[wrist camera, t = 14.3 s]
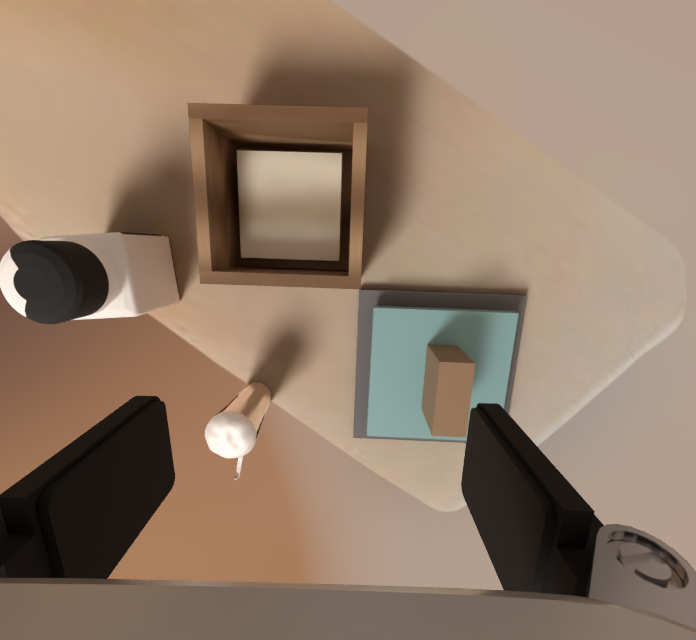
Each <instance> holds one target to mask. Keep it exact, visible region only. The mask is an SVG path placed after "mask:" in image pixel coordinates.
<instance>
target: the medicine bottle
mask: <svg viewBox="0 0 696 640" xmlns="http://www.w3.org/2000/svg"><path fill="white" fill-rule="evenodd" d="M0 287H1V290H2V292H3V294H4V296H5V298H6V299H7V301H8V302H9V303H10V305H11V306H12V307H13V308H14V309H15V310H16V311H18V312H19V313H21V314H22V315H24V316H25V317H27V318H29V319H31V320H33V321H36V322H39V323H44V324H57V323H61V322H65V321H69V320H77V319H78V320H79V319H97V318H114V317H115V318H116V317H134V316H139V315H142V314H145V313H149V312H152V311H155V310H158V309H161V308H164V307H168V306H171V305H174V304H177V303H179V301H180V299H179V294H178V288H177V282H176V277H175V271H174V266H173V260H172V254H171V249H170V243H169V238H168V236H166V235H158V234H142V233H125V232H113V233H98V234H82V235H67V236H52V237H43V238H41V239H40V240H30V241H23V242H20V243H18V244H16V245H14V246H13V247H11V248H10V249H9V250H8V251H7V253H6V254H5V255H4V257H3V258H2V260H1V263H0Z"/></svg>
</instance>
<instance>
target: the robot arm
mask: <svg viewBox="0 0 696 640" xmlns="http://www.w3.org/2000/svg"><path fill="white" fill-rule="evenodd" d="M174 481H175V472H174V465H173V458H172V451H171V443H170V436H169V428H168V421H167V414H166V407H165V404H164V402H162V401H160V399H159V398H158V397H157V396H135V397H133V398H132V399H130V400H129V401H128V402H126V403H125V404H124V405H122V406H121V407H119V408H118V409H117V410H115V411H114V412H113V413H111V414H110V415H109V416H107V417H106V418H105V419H103V420H102V421H100V422H99V423H98V424H96V425H95V426H93V427H92V428H91V429H89V430H88V431H87V432H85V433H84V434H83V435H81V436H80V437H79V438H77V439H76V440H74V441H73V442H72V443H71V444H69V445H68V446H66V447H65V448H63V449H62V450H61V451H59V452H58V453H57V454H55V455H54V456H52V457H51V458H50V459H48V460H47V461H46V462H44V463H43V464H41V465H40V466H39V467H37V468H36V469H35V470H33V471H32V472H31V473H29V474H28V475H26V476H25V477H24V478H22V479H21V480H20V481H18V482H17V483H16V484H14V485H13V486H11V487H10V488H9V489H7V490H6V491H5V492H3V493H2V494H0V640H696V571H695V570H694V569H693V568H692V566H691V565H690V564H689V563H688V561H687V560H685V559H684V558H683V557H682V556H681V555H680V554H679V553H678V552H677V551H675V550H674V549H673V548H671V547H670V546H668V545H667V544H665V543H664V542H663V541H661V540H660V539H657V538H656V537H654V536H652V535H650V534H648V533H646V532H644V531H641V530H638V529H636V528H633V527H630V526H625V525H619V524H609V525H605V526H604V525H603V524H602V523H601V522H600V521H599V519H598V518H597V517H596V516H595V515H594V511H593V509H592V508H591V507H590V506H589V505H588V504H587V503H586V502H585V500H584V499H583V498H582V497H581V496H580V495H579V494H578V492H577V491H576V490H575V489H574V488H573V487H572V486H571V484H570V483H569V482H568V481H567V480H566V479H565V478H564V477H563V475H562V474H561V473H560V472H559V471H558V470H557V469H556V468H555V466H554V465H553V464H552V463H551V462H550V461H549V460H548V459H547V457H546V456H545V455H544V454H543V453H542V452H541V451H540V450H539V448H538V447H537V446H536V445H535V444H534V443H533V441H532V440H531V439H530V438H529V437H528V436H527V435H526V434H525V432H524V431H523V430H522V429H521V428H520V427H519V426H518V425H517V423H516V422H515V421H514V420H513V419H512V418H511V417H510V415H509V414H508V413H507V412H506V411H505V410H504V409H503V408H502V406H501V405H499V404H497V403H478V404H477V406H476V408H472V409H471V411H470V418H469V426H468V434H467V442H466V450H465V458H464V466H463V474H462V483H461V485H462V493H463V496H464V499H465V501H466V503H467V506H468V508H469V510H470V513H471V515H472V517H473V519H474V522H475V524H476V526H477V529H478V531H479V533H480V536H481V538H482V540H483V543H484V545H485V547H486V550H487V552H488V554H489V557H490V559H491V561H492V563H493V566H494V568H495V571H496V573H497V575H498V578H499V580H500V582H501V585H502V587H503V589H504V590H481V589H462V588H434V587H405V586H374V585H373V586H372V585H343V584H308V583H270V582H230V581H191V580H189V581H188V580H139V579H137V580H136V579H107V578H108V577H109V575H110V574H111V573H112V571H113V570H114V568H115V567H116V566H117V564H118V562H119V561H120V560H121V559H122V557H123V556H124V555H125V553H126V552H127V550H128V549H129V548H130V546H131V545H132V543H133V542H134V541H135V539H136V538H137V536H138V535H139V534H140V532H141V531H142V529H143V528H144V527H145V525H146V524H147V522H148V521H149V520H150V518H151V517H152V516H153V514H154V513H155V511H156V510H157V509H158V507H159V506H160V504H161V503H162V502H163V500H164V499H165V497H166V496H167V495H168V493H169V492H170V490H171V489H172V487H173V485H174Z"/></svg>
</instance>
